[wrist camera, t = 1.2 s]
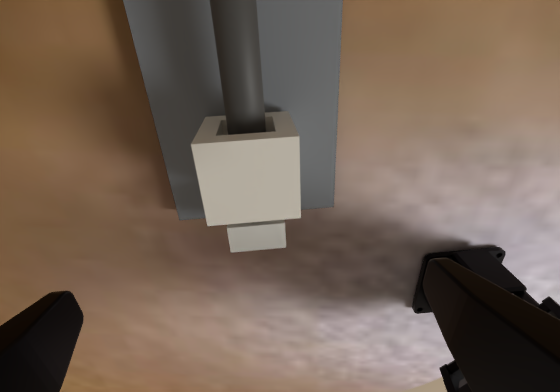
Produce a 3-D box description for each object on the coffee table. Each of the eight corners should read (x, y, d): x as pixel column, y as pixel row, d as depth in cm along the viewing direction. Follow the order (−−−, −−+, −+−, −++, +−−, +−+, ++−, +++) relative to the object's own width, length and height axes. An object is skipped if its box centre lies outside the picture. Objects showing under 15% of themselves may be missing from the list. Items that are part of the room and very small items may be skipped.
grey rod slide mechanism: (330, 199, 21) (352, 247, 16) (182, 211, 20) (162, 265, 16) (344, -198, 12) (403, -342, 7) (82, -193, 11) (-31, -342, 7)
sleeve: (290, 178, 18) (301, 218, 14) (217, 184, 18) (207, 226, 14) (288, 110, 16) (299, 136, 12) (205, 116, 16) (190, 144, 12)
